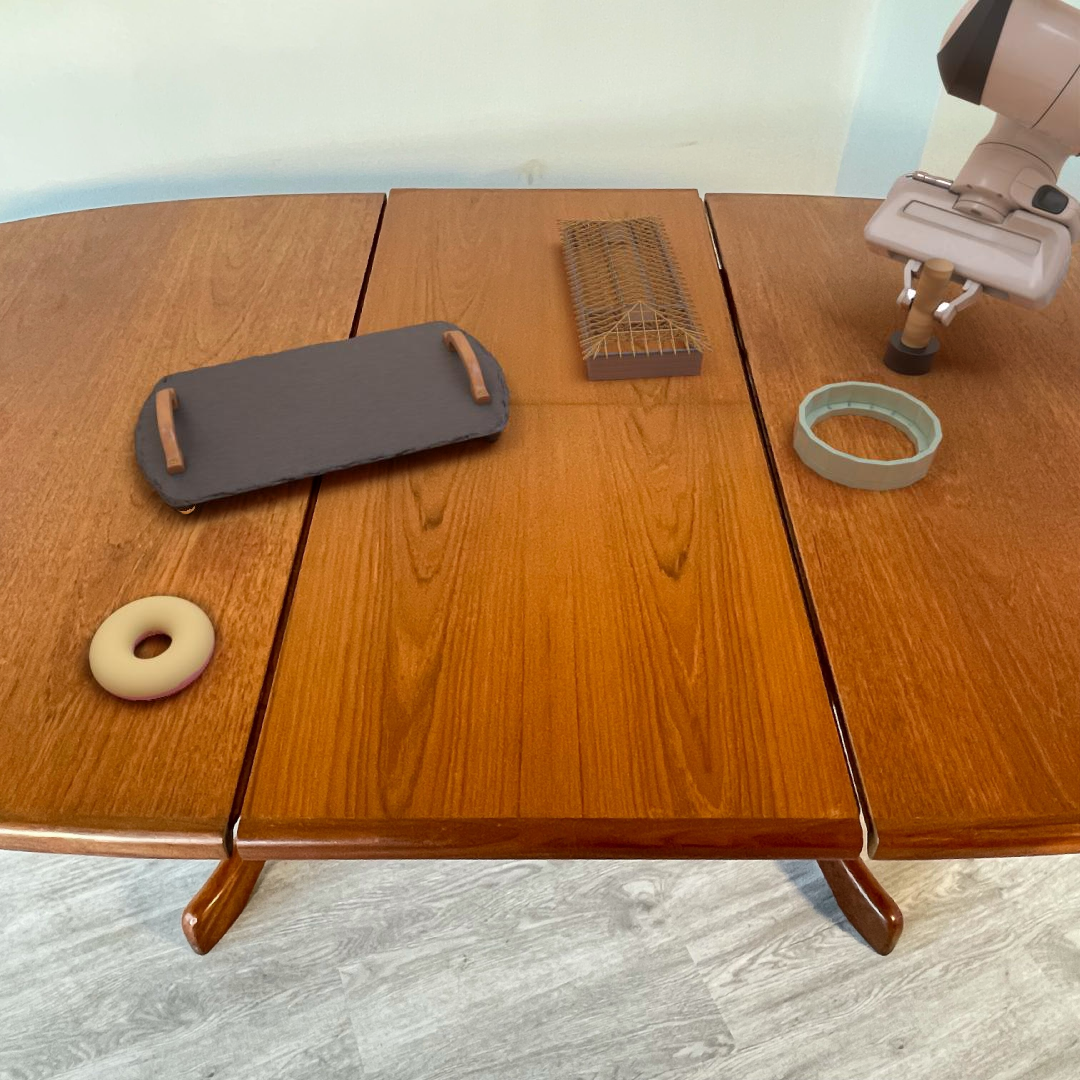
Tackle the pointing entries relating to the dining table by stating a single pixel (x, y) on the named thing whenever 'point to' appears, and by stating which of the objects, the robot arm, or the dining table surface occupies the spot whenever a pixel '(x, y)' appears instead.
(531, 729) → the dining table surface
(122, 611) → the donut
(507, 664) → the dining table surface
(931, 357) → the wooden peg with base
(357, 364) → the serving tray
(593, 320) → the rafter model
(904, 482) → the pale green band ring
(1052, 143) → the robot arm
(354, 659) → the dining table surface
